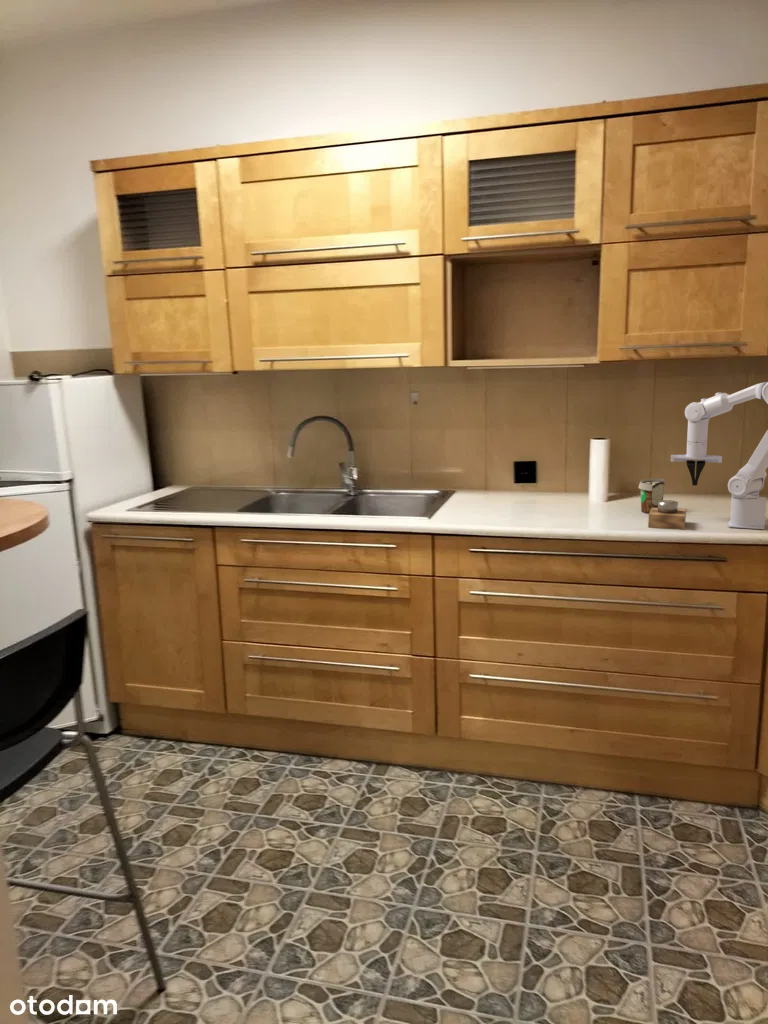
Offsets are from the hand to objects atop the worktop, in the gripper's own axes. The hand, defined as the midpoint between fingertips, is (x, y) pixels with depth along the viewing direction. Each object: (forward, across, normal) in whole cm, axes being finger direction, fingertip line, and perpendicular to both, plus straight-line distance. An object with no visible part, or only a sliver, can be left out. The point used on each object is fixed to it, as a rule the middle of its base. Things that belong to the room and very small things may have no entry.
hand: (694, 484), depth 231 cm
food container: (+11, +14, -7) cm, 19 cm away
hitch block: (+10, +7, +12) cm, 17 cm away
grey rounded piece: (+10, +7, +12) cm, 17 cm away
